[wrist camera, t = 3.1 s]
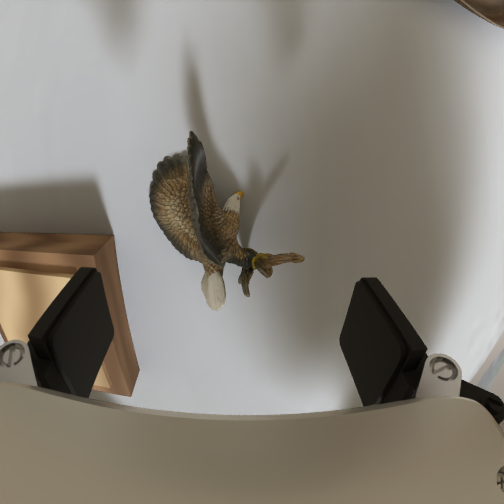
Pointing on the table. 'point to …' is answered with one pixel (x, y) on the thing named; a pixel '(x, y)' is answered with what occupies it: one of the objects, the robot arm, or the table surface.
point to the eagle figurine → (205, 223)
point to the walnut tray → (52, 282)
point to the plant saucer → (486, 10)
